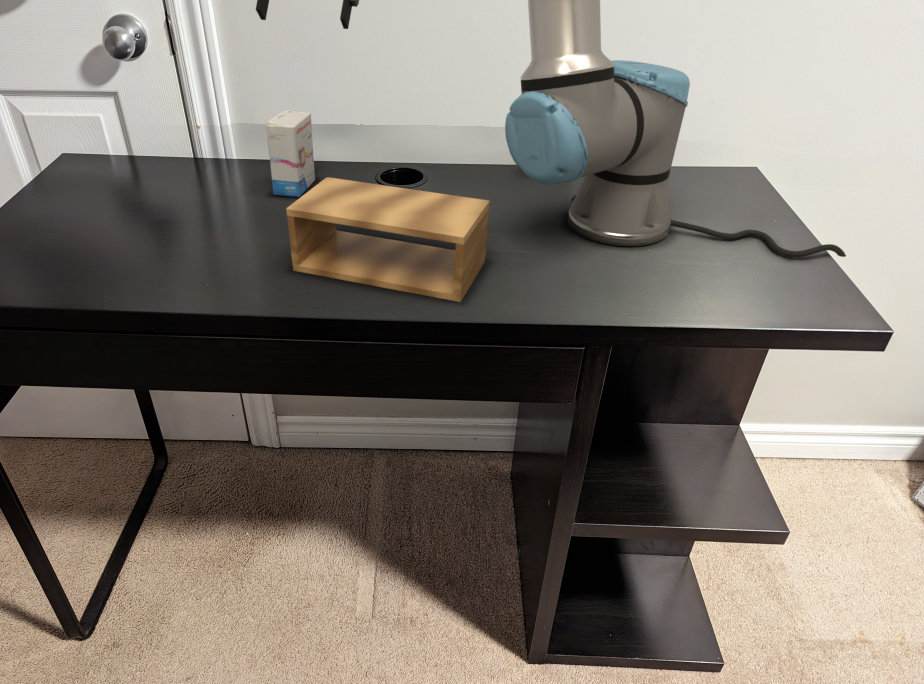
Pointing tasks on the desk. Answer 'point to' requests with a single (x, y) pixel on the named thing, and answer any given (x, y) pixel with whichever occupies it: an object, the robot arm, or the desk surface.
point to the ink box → (291, 152)
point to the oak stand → (385, 258)
